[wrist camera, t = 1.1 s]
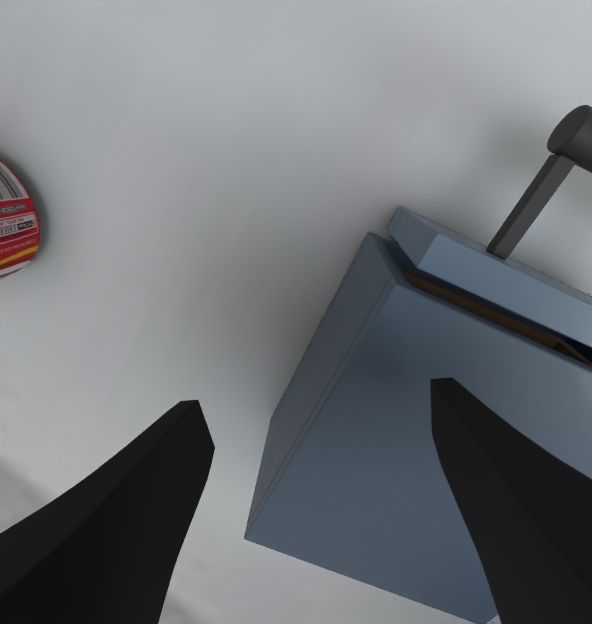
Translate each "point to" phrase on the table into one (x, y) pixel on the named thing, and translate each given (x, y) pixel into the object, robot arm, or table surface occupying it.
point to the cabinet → (403, 433)
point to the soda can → (16, 224)
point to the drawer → (494, 259)
